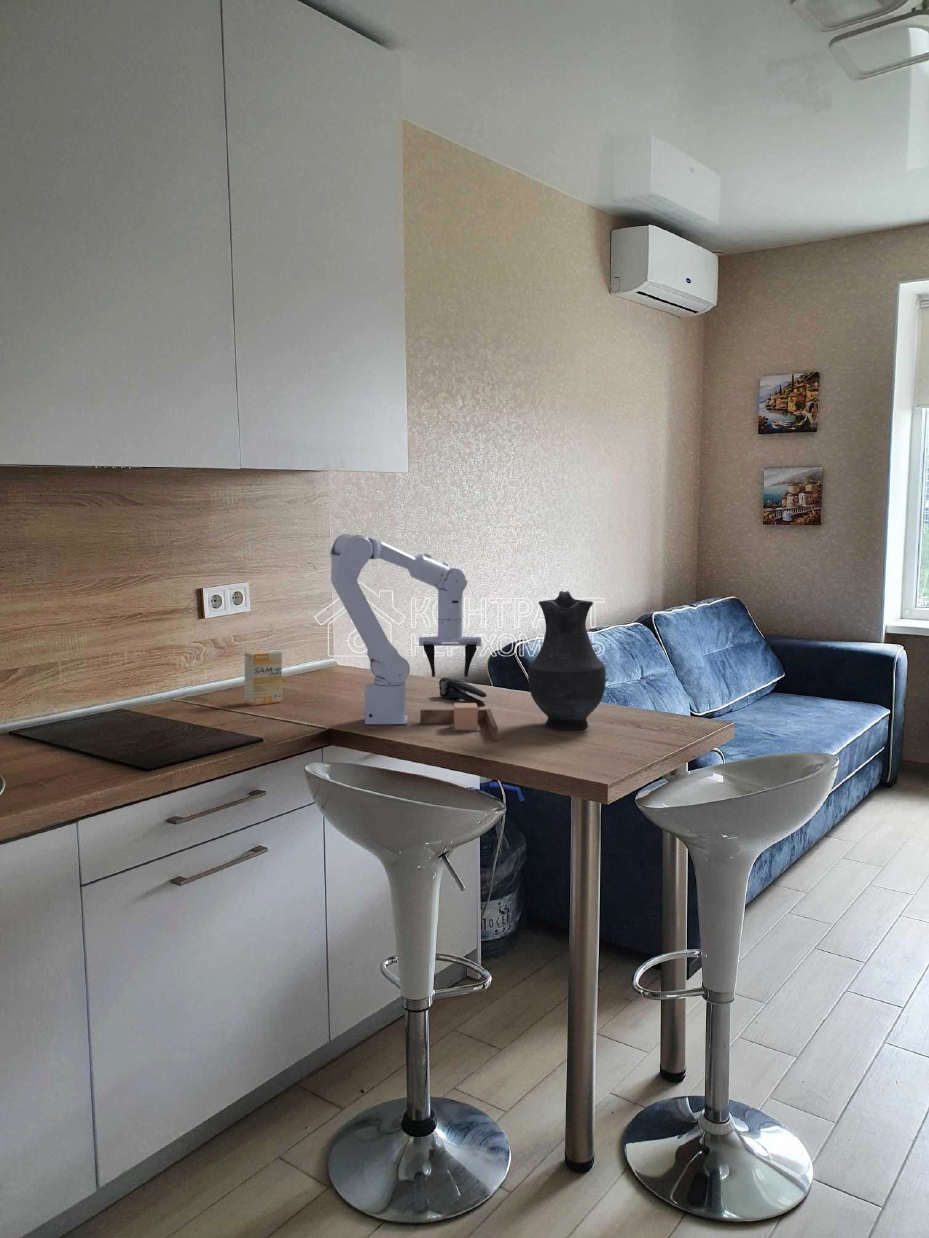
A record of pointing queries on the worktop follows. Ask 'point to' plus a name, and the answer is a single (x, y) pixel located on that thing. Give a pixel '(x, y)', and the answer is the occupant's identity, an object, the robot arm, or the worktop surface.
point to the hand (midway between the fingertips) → (449, 676)
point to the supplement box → (263, 677)
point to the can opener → (460, 691)
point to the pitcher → (566, 666)
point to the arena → (448, 717)
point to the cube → (465, 716)
